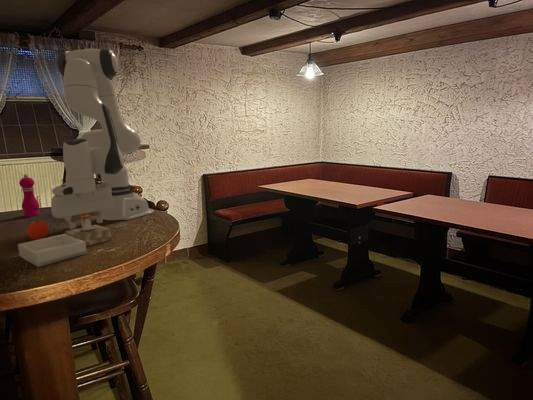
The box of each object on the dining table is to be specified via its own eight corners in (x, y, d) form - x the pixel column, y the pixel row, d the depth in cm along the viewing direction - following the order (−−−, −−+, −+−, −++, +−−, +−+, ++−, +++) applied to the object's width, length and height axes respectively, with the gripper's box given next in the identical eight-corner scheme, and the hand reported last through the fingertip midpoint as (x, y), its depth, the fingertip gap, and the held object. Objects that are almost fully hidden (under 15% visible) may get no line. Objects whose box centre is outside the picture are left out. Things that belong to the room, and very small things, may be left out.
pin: (91, 239, 136) (87, 212, 134) (95, 240, 134) (91, 213, 132) (82, 241, 134) (79, 213, 132) (86, 242, 132) (82, 214, 130)
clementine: (21, 242, 136) (18, 223, 135) (35, 236, 143) (32, 218, 142) (41, 242, 135) (38, 223, 134) (54, 236, 142) (51, 218, 140)
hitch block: (96, 235, 142) (95, 224, 141) (111, 239, 135) (110, 228, 134) (66, 242, 134) (64, 231, 133) (79, 247, 126) (78, 236, 126)
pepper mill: (43, 214, 183) (37, 173, 179) (28, 217, 177) (21, 175, 173) (35, 213, 187) (29, 173, 183) (20, 216, 181) (13, 174, 177)
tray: (65, 245, 130) (64, 233, 129) (86, 253, 120) (85, 241, 119) (19, 256, 120) (17, 244, 119) (38, 266, 110) (36, 253, 109)
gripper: (106, 182, 140) (110, 218, 143) (46, 190, 125) (52, 230, 128) (114, 183, 136) (119, 220, 139) (54, 191, 121) (60, 233, 124)
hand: (86, 225), depth 133 cm, fingers open, 8 cm apart
